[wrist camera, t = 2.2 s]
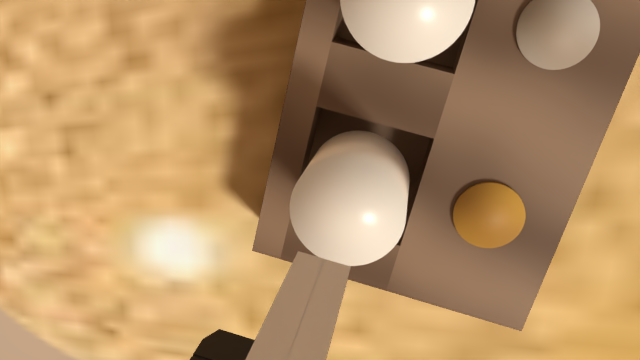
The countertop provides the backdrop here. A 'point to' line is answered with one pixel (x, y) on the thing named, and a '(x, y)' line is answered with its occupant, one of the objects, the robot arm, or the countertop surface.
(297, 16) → the countertop surface
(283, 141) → the board
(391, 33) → the button
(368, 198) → the button
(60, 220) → the countertop surface
